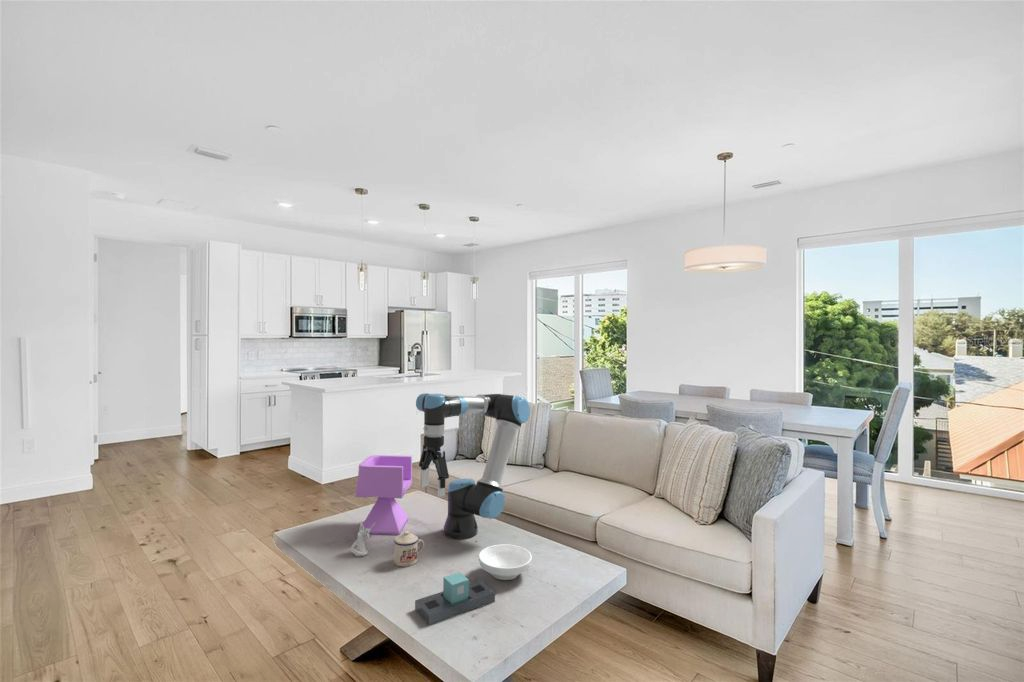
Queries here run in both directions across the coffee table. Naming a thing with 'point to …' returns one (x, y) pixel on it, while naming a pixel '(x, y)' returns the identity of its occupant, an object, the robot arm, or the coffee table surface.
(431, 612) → the grey flat slotted block
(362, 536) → the figurine
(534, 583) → the coffee table surface
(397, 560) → the teacup with lid
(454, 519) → the robot arm
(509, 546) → the bowl
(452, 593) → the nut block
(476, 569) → the coffee table surface
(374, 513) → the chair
